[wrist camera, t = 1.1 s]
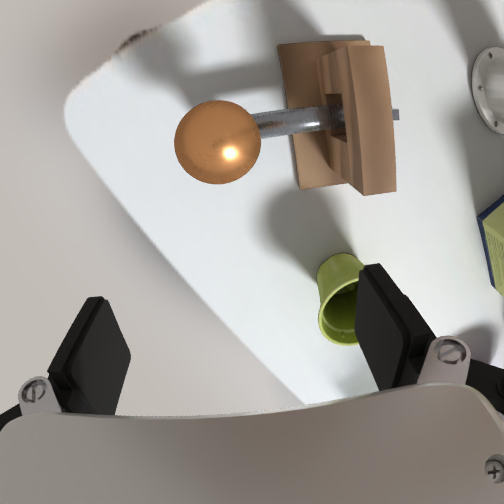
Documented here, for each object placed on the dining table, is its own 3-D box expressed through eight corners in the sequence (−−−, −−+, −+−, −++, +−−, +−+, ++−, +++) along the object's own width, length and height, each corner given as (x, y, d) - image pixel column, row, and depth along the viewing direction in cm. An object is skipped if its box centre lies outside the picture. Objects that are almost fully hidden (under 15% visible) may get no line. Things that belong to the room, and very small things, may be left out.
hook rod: (372, 83, 28) (421, 82, 19) (378, 138, 31) (426, 156, 22) (187, 107, 29) (166, 111, 20) (199, 164, 32) (184, 191, 23)
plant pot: (305, 242, 39) (322, 280, 31) (377, 238, 39) (407, 273, 31) (302, 305, 43) (315, 350, 35) (367, 299, 43) (390, 340, 35)
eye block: (366, 41, 28) (416, 25, 18) (381, 176, 35) (429, 208, 25) (277, 45, 28) (296, 23, 18) (299, 188, 35) (324, 225, 26)
